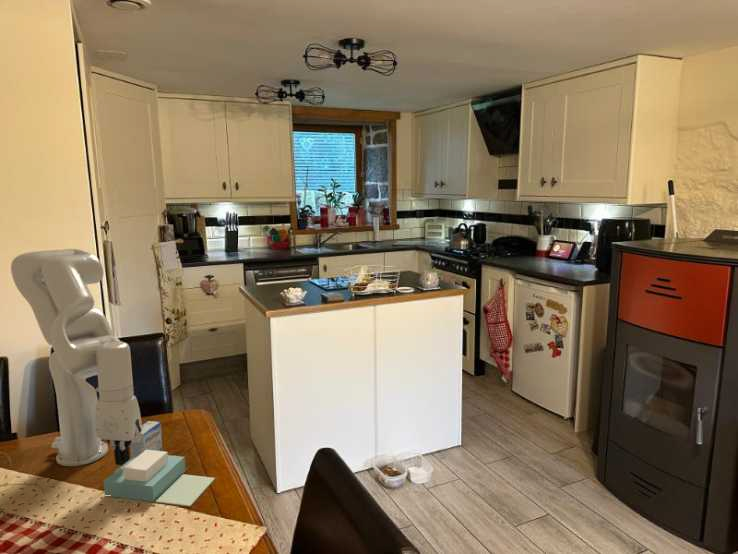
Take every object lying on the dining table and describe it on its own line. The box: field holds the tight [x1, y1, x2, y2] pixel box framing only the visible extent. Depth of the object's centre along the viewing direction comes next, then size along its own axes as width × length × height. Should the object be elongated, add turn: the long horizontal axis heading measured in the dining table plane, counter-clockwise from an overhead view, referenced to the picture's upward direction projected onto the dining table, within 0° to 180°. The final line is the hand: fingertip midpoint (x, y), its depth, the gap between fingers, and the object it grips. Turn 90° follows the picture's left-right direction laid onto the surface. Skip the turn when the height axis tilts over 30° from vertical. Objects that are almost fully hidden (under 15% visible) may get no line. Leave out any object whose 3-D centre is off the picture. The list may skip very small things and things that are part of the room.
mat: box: [154, 473, 216, 508], centre depth 126 cm, size 9×12×1 cm
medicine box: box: [129, 420, 163, 460], centre depth 141 cm, size 8×4×9 cm, turn 168°
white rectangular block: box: [124, 450, 169, 482], centre depth 127 cm, size 6×9×3 cm, turn 169°
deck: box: [103, 452, 186, 503], centre depth 129 cm, size 13×14×4 cm
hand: (122, 462), depth 128 cm, fingers closed
